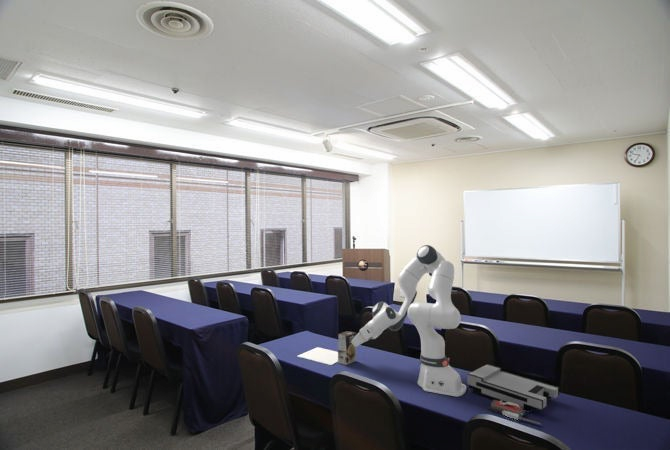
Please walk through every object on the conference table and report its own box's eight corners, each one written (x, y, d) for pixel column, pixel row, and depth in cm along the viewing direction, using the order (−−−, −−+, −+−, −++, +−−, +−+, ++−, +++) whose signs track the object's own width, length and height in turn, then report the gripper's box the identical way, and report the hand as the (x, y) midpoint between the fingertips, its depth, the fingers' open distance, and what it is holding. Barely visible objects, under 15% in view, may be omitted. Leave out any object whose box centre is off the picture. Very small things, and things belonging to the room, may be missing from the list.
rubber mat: (350, 355, 219) (350, 354, 219) (331, 365, 202) (331, 364, 202) (317, 347, 232) (317, 347, 232) (297, 356, 215) (297, 355, 215)
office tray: (541, 418, 148) (541, 398, 148) (467, 392, 172) (467, 374, 172) (559, 403, 162) (559, 384, 162) (487, 380, 186) (488, 363, 186)
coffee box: (346, 365, 203) (347, 335, 203) (337, 362, 206) (337, 333, 207) (356, 360, 210) (356, 332, 210) (346, 358, 214) (347, 330, 214)
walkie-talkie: (485, 412, 153) (540, 429, 140) (486, 402, 153) (540, 417, 140) (491, 404, 160) (544, 420, 147) (491, 394, 160) (544, 408, 147)
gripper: (377, 321, 210) (362, 335, 215) (359, 329, 193) (343, 344, 198) (384, 330, 207) (368, 345, 213) (366, 339, 190) (350, 354, 196)
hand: (356, 344), depth 205 cm, fingers closed
